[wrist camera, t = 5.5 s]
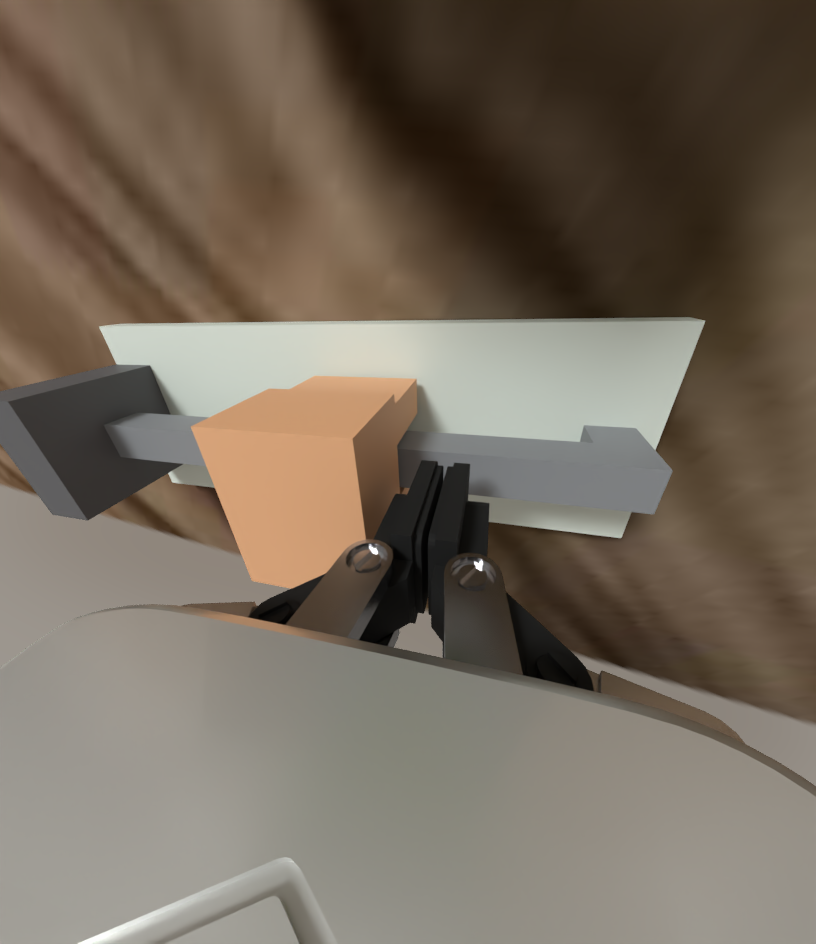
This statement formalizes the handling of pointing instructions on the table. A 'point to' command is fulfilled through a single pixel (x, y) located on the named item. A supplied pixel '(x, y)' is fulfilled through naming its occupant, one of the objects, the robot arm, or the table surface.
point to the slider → (307, 470)
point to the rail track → (382, 356)
